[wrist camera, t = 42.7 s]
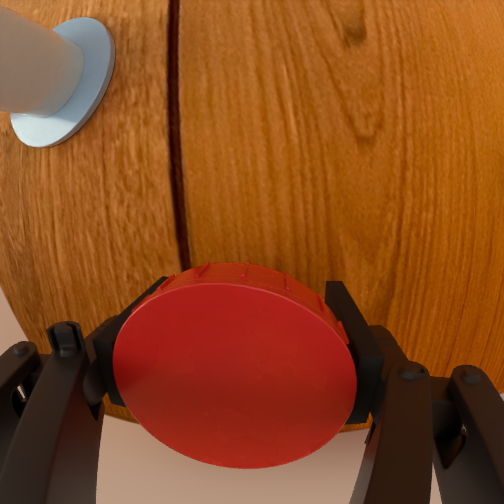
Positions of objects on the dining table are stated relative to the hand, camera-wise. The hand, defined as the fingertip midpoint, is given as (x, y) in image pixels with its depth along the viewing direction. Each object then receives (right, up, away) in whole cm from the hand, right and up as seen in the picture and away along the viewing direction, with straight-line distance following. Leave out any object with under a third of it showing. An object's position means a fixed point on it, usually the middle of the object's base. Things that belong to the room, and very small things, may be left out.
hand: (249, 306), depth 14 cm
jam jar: (-15, +16, +1) cm, 21 cm away
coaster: (-15, +16, +2) cm, 22 cm away
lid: (-1, -2, -6) cm, 6 cm away
